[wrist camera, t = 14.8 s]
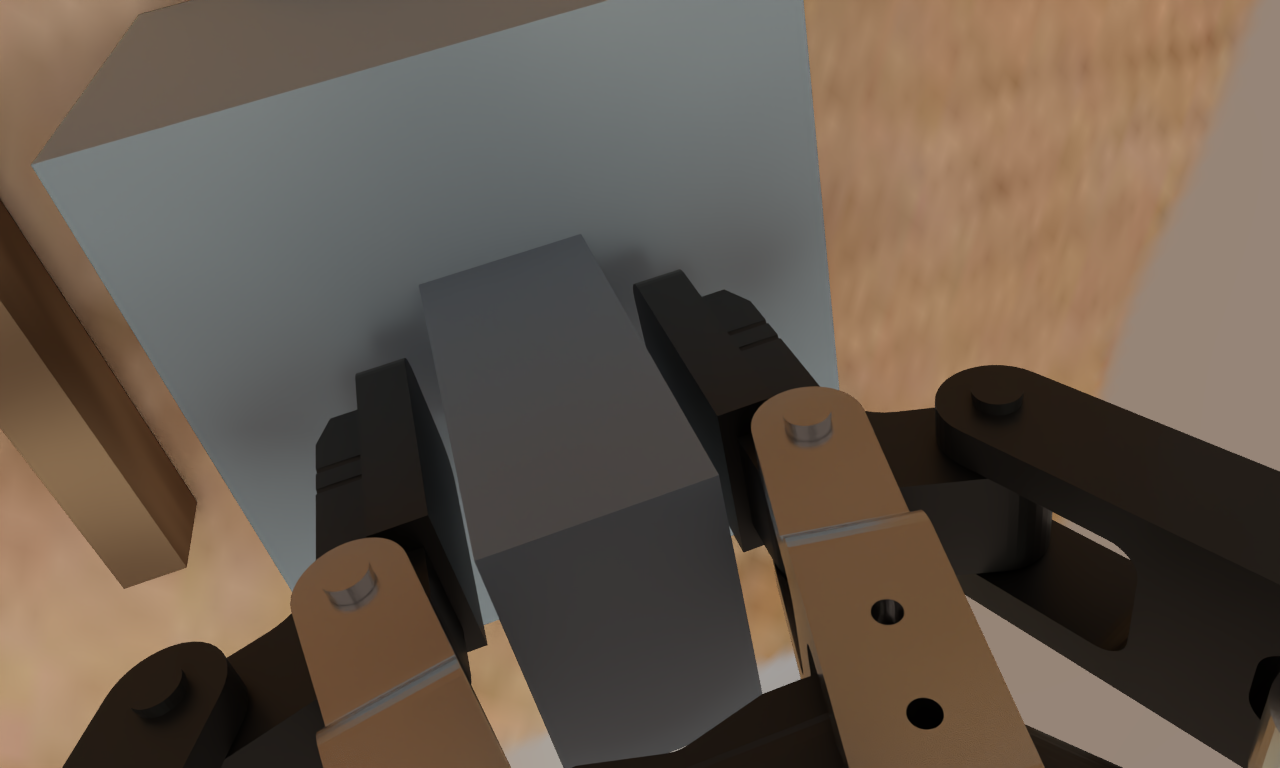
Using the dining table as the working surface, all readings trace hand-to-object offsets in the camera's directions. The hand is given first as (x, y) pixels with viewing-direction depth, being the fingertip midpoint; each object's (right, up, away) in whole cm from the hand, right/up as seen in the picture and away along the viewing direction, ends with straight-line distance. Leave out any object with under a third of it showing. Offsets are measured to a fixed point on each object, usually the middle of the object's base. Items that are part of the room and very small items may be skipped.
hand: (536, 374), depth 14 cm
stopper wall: (-12, +2, +7) cm, 14 cm away
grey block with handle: (-3, +5, +8) cm, 10 cm away
